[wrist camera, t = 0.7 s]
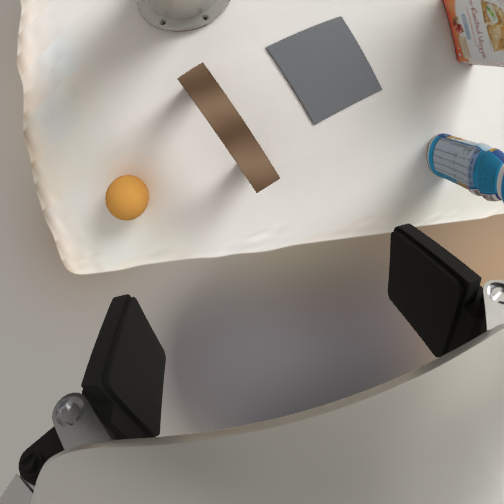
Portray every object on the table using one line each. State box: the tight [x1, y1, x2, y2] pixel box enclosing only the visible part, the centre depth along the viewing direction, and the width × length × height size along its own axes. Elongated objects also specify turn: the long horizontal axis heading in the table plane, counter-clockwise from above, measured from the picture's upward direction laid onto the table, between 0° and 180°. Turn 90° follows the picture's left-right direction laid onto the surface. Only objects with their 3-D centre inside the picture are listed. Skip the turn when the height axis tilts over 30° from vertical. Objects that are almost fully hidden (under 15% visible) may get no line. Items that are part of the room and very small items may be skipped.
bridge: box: [178, 62, 280, 193], centre depth 32 cm, size 15×3×10 cm, turn 33°
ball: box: [106, 175, 149, 220], centre depth 35 cm, size 6×6×6 cm
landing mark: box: [266, 17, 382, 125], centre depth 33 cm, size 13×13×1 cm
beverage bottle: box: [427, 133, 504, 202], centre depth 33 cm, size 8×8×20 cm
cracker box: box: [443, 0, 504, 67], centre depth 21 cm, size 14×6×21 cm, turn 13°
